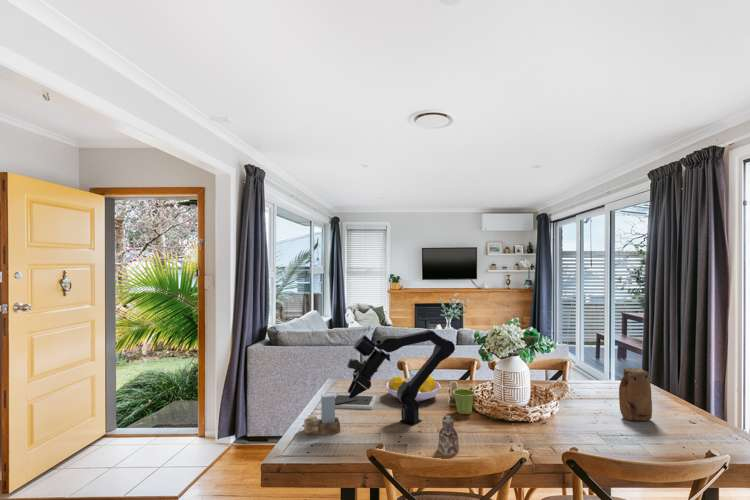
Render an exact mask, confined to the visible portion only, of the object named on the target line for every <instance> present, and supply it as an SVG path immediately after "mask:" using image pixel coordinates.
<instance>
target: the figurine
mask: <svg viewBox="0 0 750 500" xmlns="http://www.w3.org/2000/svg"><path fill="white" fill-rule="evenodd" d="M441 422H442V423H441V424H442V427H441V429H440V430H439V433H438V443H437V446H438V447H437V449H438V452H440V453H441V454H442V455H444V454H445V455H446V456H454V455H453V454H455V455H457V453H459V452H460V442H459V434H458V431H457V430H456V428H454V427H455V425H454V423H455V420H454V419H453V416H451V413H450V412H447V413H446V415H444V416H443V418H442V420H441Z"/></svg>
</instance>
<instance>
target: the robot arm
mask: <svg viewBox="0 0 750 500" xmlns="http://www.w3.org/2000/svg"><path fill="white" fill-rule="evenodd" d="M429 341H430V342H431V343H432V344H434V348H433V351H432V354H431V355H430V356H429V358H427V360H426V361H425V363H423V365H422V366H421V367H420V368H419V370H418V371H417V372H416V374H415V375H414V376H413V377H411V378H412V380H411V381H409V382H407V383H406V382H405V381H403V383H402V384H401V386H400V387H398V391H397V397H398V398H397V399H398V400H399V402H401V404H402V405H401V412H400V413H401V419H400V420H399V422H400V423H403V424H405V425H409V426H414V425H416V424H418V423H420V422H422V420H421V419H420V418H419V417H420V415H419V413H420V412H419V408H420V406H421V405H420V402H417V401H416V399H415V398H416V396H417V394H418V391H419V388H420V387H421V385H422V384H423V383H424V382H425V380H426V379H427V378H428V377H429V376H431V375H432V373H433V372H434V370H435V369H436V368H438V366H439V365H440V363H442V362H443V361H444V360H446V359H448V358H449V357H451V355H453V353H455V350H456V349H455V348H456V345H455V344H454V342H453V341H451V340H449V339H447V338H444V337H442V336H440V335H438V334H437V333H436V332H435V331H433V330H431V329H426V330H423V331H417V332H413V333H409V334H404V335H384V336H382V337H381V338H380V339H378V340H374V341H372V340H371V339H370V338H369V337H368V336H367V335H366V334H363V335H362V336H361V337H360V338H359V339H358V340H357V341H356V342H355V343H354V345H353V349H354V350H356V351H357V352H358V353H360V354H361V355H362V356H363V357H368V358H367V359H366V360H363V362H362V361H359V360H358V359H356V358H355V359H354V358H349V359H348V363H347V365H346V366H347V368H348V369H353V372H352V378H353V379H352V381H351V383H350V386H349V388H348V389H347V394H349V398H350V399H351V398H353V397H355V396H356V395H361V393H363V392H366V391H368V390H369V389H370V388H371V387H372V381H371V380H372V378H373V376H374V375H375V373H377V372H378V369H379V368H380V367H381V365H382V364H383V362H385V360H387V361H388V362H391V354H390V353H393V352H395V351H397V350H400V349H401V348H402V347H405V346H410V345H415V344H419V343H425V342H429Z"/></svg>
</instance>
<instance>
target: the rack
mask: <svg viewBox="0 0 750 500" xmlns="http://www.w3.org/2000/svg"><path fill="white" fill-rule="evenodd" d="M317 422H318V432H309V433H306V431H305V426H304V429H303V431H304V436H306V437H307V436H316V435H327V434H336V433H338V434H339V433H341V422H340V419H339V417H337V416H335V422H334V423H324V424H321V418H317Z"/></svg>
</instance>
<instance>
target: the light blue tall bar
mask: <svg viewBox="0 0 750 500" xmlns="http://www.w3.org/2000/svg"><path fill="white" fill-rule="evenodd" d="M320 396H321V397H320V405H321V407H320V409H321V411H320V413H321V415H320V416H321V418H320V419H321V424H324V423H334V422H335V417H336V408H335V393H327V394H321V395H320Z"/></svg>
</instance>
